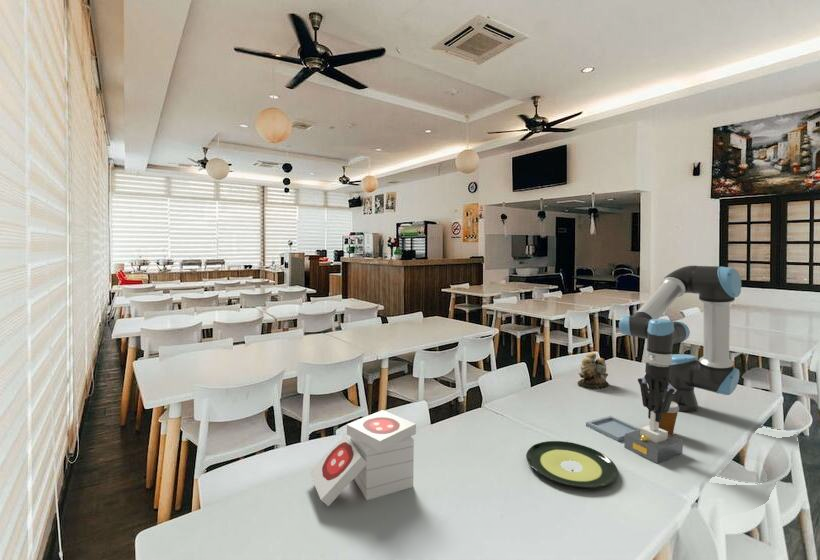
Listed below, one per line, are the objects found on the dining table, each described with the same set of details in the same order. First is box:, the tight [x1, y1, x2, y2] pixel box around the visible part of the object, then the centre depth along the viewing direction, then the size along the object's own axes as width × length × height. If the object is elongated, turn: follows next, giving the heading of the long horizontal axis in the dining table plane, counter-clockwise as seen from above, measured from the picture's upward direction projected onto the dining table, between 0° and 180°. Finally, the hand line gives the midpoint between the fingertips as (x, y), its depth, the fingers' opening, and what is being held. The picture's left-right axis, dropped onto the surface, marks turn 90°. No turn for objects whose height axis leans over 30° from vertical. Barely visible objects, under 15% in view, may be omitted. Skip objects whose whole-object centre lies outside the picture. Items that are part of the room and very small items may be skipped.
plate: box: [525, 440, 619, 489], centre depth 132 cm, size 28×28×2 cm
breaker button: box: [640, 424, 668, 443], centre depth 143 cm, size 6×6×6 cm
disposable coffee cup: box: [659, 401, 679, 436], centre depth 156 cm, size 10×10×12 cm
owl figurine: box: [577, 352, 610, 390], centre depth 209 cm, size 18×12×17 cm, turn 114°
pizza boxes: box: [308, 409, 417, 507], centre depth 121 cm, size 19×30×18 cm, turn 116°
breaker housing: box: [623, 430, 684, 464], centre depth 143 cm, size 14×12×7 cm
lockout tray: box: [585, 415, 641, 442], centre depth 159 cm, size 14×14×2 cm
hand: (654, 429), depth 142 cm, fingers closed
